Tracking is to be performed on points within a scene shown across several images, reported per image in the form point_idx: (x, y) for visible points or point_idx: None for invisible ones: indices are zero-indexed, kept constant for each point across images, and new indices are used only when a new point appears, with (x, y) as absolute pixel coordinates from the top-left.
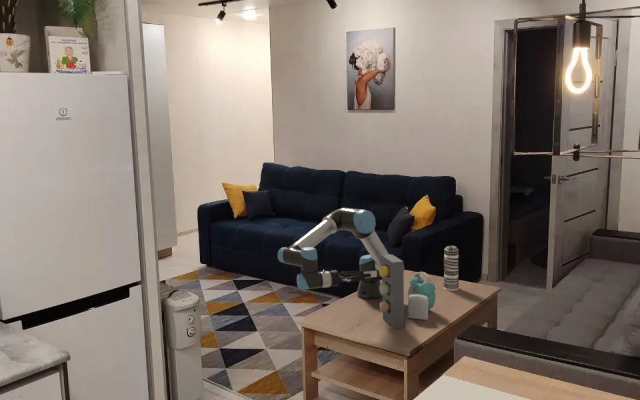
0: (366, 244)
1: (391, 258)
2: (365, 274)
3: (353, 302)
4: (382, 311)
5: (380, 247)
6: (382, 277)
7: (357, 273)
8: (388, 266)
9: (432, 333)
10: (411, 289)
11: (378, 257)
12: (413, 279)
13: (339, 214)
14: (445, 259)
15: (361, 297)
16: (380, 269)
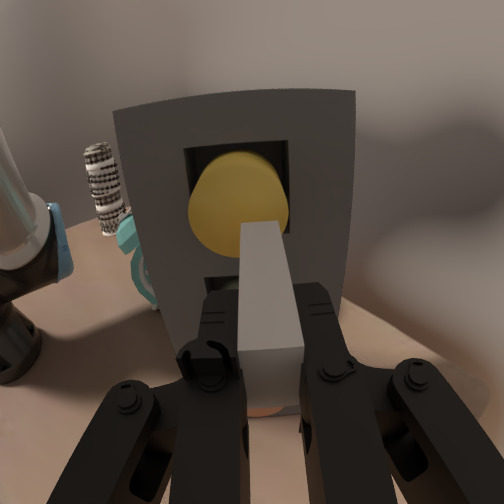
0: None
1: (231, 91)
2: (338, 347)
3: (14, 420)
4: (270, 413)
5: (4, 145)
6: (152, 270)
7: (242, 478)
8: (248, 151)
9: (376, 319)
10: (142, 261)
11: (4, 205)
12: (135, 227)
13: None
14: (94, 174)
15: (7, 381)
16: (225, 198)
